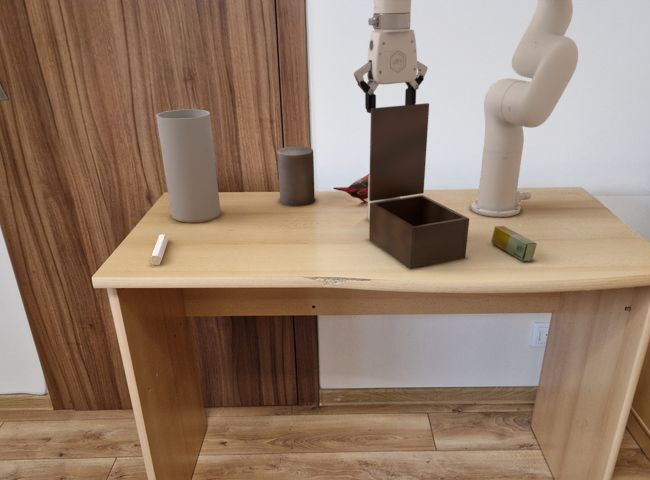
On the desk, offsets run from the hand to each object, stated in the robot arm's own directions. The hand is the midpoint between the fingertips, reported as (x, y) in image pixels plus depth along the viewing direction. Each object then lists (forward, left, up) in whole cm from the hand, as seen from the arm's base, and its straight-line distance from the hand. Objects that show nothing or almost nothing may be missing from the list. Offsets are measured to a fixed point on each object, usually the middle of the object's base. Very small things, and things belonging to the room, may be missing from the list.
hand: (390, 110), depth 136 cm
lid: (0, +5, -8) cm, 10 cm away
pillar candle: (+11, -31, -27) cm, 43 cm away
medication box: (-18, +25, -27) cm, 41 cm away
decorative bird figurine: (-3, -20, -27) cm, 34 cm away
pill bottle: (-3, -7, -27) cm, 28 cm away
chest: (0, +14, -27) cm, 31 cm away
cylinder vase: (+39, -31, -27) cm, 57 cm away
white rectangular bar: (+53, -9, -27) cm, 60 cm away
